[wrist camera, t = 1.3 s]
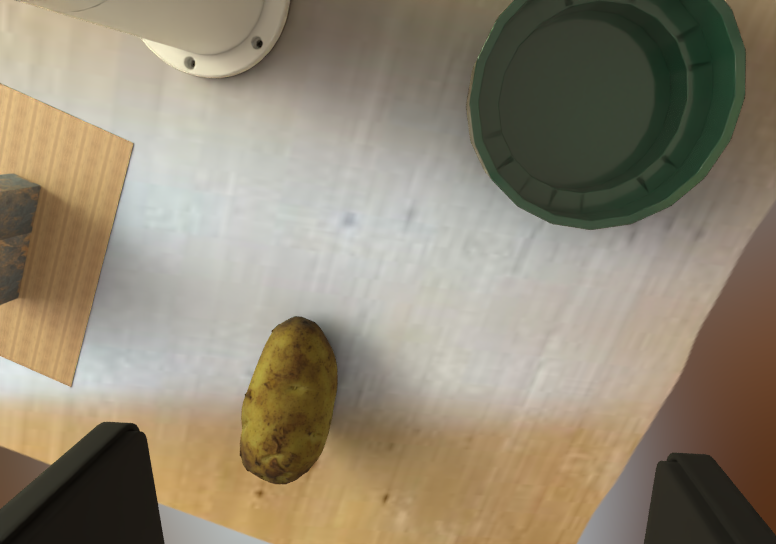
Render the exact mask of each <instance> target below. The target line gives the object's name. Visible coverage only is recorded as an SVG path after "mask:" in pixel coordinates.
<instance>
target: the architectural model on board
mask: <svg viewBox="0 0 776 544" xmlns="http://www.w3.org/2000/svg"><path fill="white" fill-rule="evenodd" d="M132 147H133V143H131V142H129V141H127V140H125V139H123V138H120V137H118V136H116V135H114V134H111V133H109V132H107V131H105V130H102V129H100V128H98V127H96V126H94V125H91V124H89V123H87V122H85V121H82V120H80V119H78V118H76V117H74V116H71V115H69V114H67V113H65V112H62V111H60V110H58V109H56V108H53V107H51V106H49V105H47V104H45V103H42V102H40V101H38V100H36V99H33V98H31V97H29V96H27V95H25V94H22V93H20V92H18V91H16V90H13V89H11V88H9V87H7V86H4V85H2V84H0V356H2V357H4V358H6V359H9V360H11V361H13V362H15V363H18V364H20V365H22V366H24V367H27V368H29V369H31V370H34V371H36V372H38V373H40V374H43V375H45V376H47V377H49V378H52V379H54V380H56V381H59V382H61V383H63V384H65V385H68V386H70V387H71V384H72V380H73V376H74V373H75V369H76V365H77V361H78V357H79V353H80V349H81V345H82V342H83V338H84V334H85V330H86V326H87V322H88V318H89V314H90V310H91V307H92V303H93V299H94V295H95V291H96V287H97V283H98V279H99V275H100V272H101V268H102V264H103V260H104V256H105V252H106V248H107V244H108V241H109V237H110V233H111V229H112V225H113V221H114V217H115V213H116V209H117V206H118V202H119V198H120V194H121V190H122V186H123V182H124V178H125V175H126V171H127V167H128V163H129V159H130V155H131V151H132Z"/></svg>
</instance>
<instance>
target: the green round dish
mask: <svg viewBox="0 0 776 544" xmlns="http://www.w3.org/2000/svg"><path fill="white" fill-rule="evenodd" d="M745 51H746V50H745V47H744V44H743V41H742V38H741V35H740V32H739V29H738V26H737V23H736V20H735V17H734V15H733V12H732V9H731V8H730V7H729V5H728V4H727V3H726V2H725V1H724V0H514V1H513V2H512V3H511V4H510V5H509V6H508V7H507V8H506V9H505V10H504V12H503V13H502V14H501V15H500V16H499V17H498V19H497V20H496V22H495V24H494V26H493V28H492V30H491V32H490V34H489V36H488V38H487V40H486V42H485V44H484V46H483V48H482V50H481V52H480V54H479V56H478V58H477V60H476V62H475V64H474V66H473V69H472V74H471V79H470V85H469V91H468V96H467V102H466V112H467V120H468V127H469V135H470V141H471V144H472V146H473V148H474V150H475V152H476V155H477V157H478V159H479V161H480V163H481V165H482V167H483V169H484V171H485V173H486V174H487V175H488V176H489V177H490V178H491V180H492V181H493V182H494V183H495V184H496V185H497V186H498V187H499V188H500V189H501V190H502V191H503V192H504V193H505V194H506V195H507V196H508V197H509V198H510V199H511V200H512V201H513V202H514V203H515V204H516V205H517V206H518V207H520V208H522V209H523V210H525V211H527V212H529V213H531V214H533V215H535V216H537V217H539V218H541V219H543V220H545V221H547V222H549V223H552V224H556V225H562V226H568V227H575V228H581V229H587V230H594V229H601V228H608V227H615V226H622V225H629V224H633V223H635V222H637V221H639V220H641V219H644V218H646V217H648V216H650V215H653V214H655V213H657V212H659V211H661V210H664V209H666V208H668V207H670V206H672V205H673V204H674V203H675V202H676V201H678V200H679V199H680V198H681V197H682V196H684V195H685V194H686V193H687V192H688V191H690V190H691V189H692V188H693V187H694V186H696V185H697V184H698V183H699V182H700V181H702V180H703V179H704V177H706V175H707V174H708V172H709V171H710V170H711V168H712V167H713V165H714V164H715V162H716V161H717V159H718V158H719V157H720V155H721V154H722V152H723V151H724V149H725V148H726V146H727V145H728V144H729V142H730V140H731V138H732V135H733V132H734V129H735V126H736V123H737V120H738V117H739V114H740V111H741V108H742V105H743V102H744V99H745V97H744V96H745V73H746V52H745Z"/></svg>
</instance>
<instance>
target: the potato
mask: <svg viewBox="0 0 776 544" xmlns="http://www.w3.org/2000/svg"><path fill="white" fill-rule="evenodd" d="M337 377H338V376H337V364H336V359H335V355H334V352H333V350H332V347H331V345H330V344H329V342H328V340H327V338H326V337H325V335H324V333H323V331H322V330H321V328H320V327H319V326H318V325H317V324H316V323H315V322H312V321H311V320H308V319H306V318H303V317H297V316H295V317H293V318H290V319H288V320H286V321H284V322H283V323H281V324H279V325H278V326H277V327H276V328H275V329H273V330H272V334H271V335H270V337H269V339H268V341H267V343H266V345H265V347H264V349H263V351H262V354H261V356H260V359H259V361H258V364H257V366H256V369H255V371H254V374H253V377H252V379H251V382H250V385H249V388H248V390H247V393H246V394H245V399H244V402H243V406H242V416H241V420H242V434H241V440H240V456H241V458H242V463H243V465H244V467H245V468H246V470H247V471H250V472H251V473H253V474H254V475H256V476H258V477H259V478H261V479H263V480H265V481H268V482H270V483H274V484H287V483H290V482H293V481H295V480H297V479H298V478H299V477H300V476H302V475H303V474H305V473H306V472H308V471H309V469H310V468H311V467H312V466H313V464H314V463H315V462H316V461H317V459H318V458H319V456H320V455H321V453H322V451H323V448H324V445H325V442H326V439H327V436H328V433H329V429H330V425H331V420H332V415H333V408H334V401H335V397H336V393H337V384H338V383H337Z"/></svg>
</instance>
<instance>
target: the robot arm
mask: <svg viewBox="0 0 776 544" xmlns="http://www.w3.org/2000/svg"><path fill="white" fill-rule="evenodd" d="M16 1H19V2H23V3H26V4H30V5H33V6H36V7H39V8H43V9H46V10H49V11H52V12H55V13H59V14H63V15H66V16H69V17H72V18H76V19H79V20H83V21H86V22H89V23H93V24H96V25H100V26H103V27H106V28H110V29H113V30H117V31H120V32H123V33H127V34H130V35H134V36H137V37H140V38H141V39H142V40H143V41H144V43H145V44H146V45H147V46H148V48H149V49H150V50H151V51H152V52H153V53H154V54H155V55H157V56H158V57H159V58H160V59H161V60H162V61H164V62H165V63H167V64H169V65H170V66H172V67H174V68H175V69H177V70H179V71H182V72H185V73H188V74H190V75H194V76H199V77H204V78H224V77H229V76H235V75H237V74H239V73H242V72H244V71H247V70H249V69H250V68H251V67H253V66H254V65H256V64H257V63H259V62H260V61H261V60H262V59H263V58H264V57H265V56H266V55H267V54H268V53H269V52H270V51H271V50H272V48H273V46H274V45H275V43H276V42H277V40H278V38H279V37H280V35H281V32H282V30H283V27H284V25H285V22H286V19H287V14H288V10H289V5H290V0H16ZM260 41H262V42H263V45H262V47H261V48H259V46H258V43H259V42H260ZM194 61H195V67H193V62H194ZM0 544H164V538H163V532H162V527H161V520H160V514H159V509H158V502H157V496H156V490H155V484H154V478H153V473H152V467H151V461H150V455H149V449H148V443H147V438H146V435H145V434H144V433H143V432H140V431H139V428H138V427H137V425H135V424H133V423H119V422H103V423H101V424H99V425H97V426H96V427H95V428H94V429H93V430H92V431H90V432H89V433H88V434H87V435H86V436H85V437H84V438H82V439H81V440H80V441H79V442H78V443H77V444H75V445H74V446H73V447H72V448H71V449H70V450H68V451H67V452H66V453H65V454H64V455H63V456H61V457H60V458H59V459H58V460H57V461H56V462H54V463H53V464H52V465H51V466H50V467H49V468H48V469H46V470H45V471H44V472H43V473H42V474H41V475H40V476H38V477H37V478H36V479H35V480H34V481H32V482H31V483H30V484H29V485H28V486H27V487H26V488H24V489H23V490H22V491H21V492H20V493H18V494H17V495H16V496H15V497H14V498H13V499H11V500H10V501H9V502H8V503H7V504H6V505H5V506H3V507H2V508H1V509H0ZM644 544H776V535H775V534H774V533H773V532H772V530H771V529H770V528H769V527H768V525H767V524H766V523H765V522H764V520H763V519H762V518H761V517H760V516H759V514H758V513H757V512H756V511H755V509H754V508H753V507H752V506H751V504H750V503H749V502H748V501H747V499H746V498H745V497H744V496H743V494H742V493H741V492H740V491H739V490H738V488H737V487H736V486H735V485H734V484H733V482H732V481H731V480H730V478H729V477H728V476H727V475H726V473H725V472H724V471H723V470H722V469H721V467H720V466H719V465H718V464H717V462H716V461H715V460H714V459H713V458H712V457H711V456H709V455H706V454H687V453H671V454H670V455H669V456H668V458H667V461H660V462H658V464H657V468H656V472H655V479H654V485H653V491H652V497H651V503H650V509H649V516H648V522H647V529H646V534H645V540H644Z"/></svg>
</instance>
